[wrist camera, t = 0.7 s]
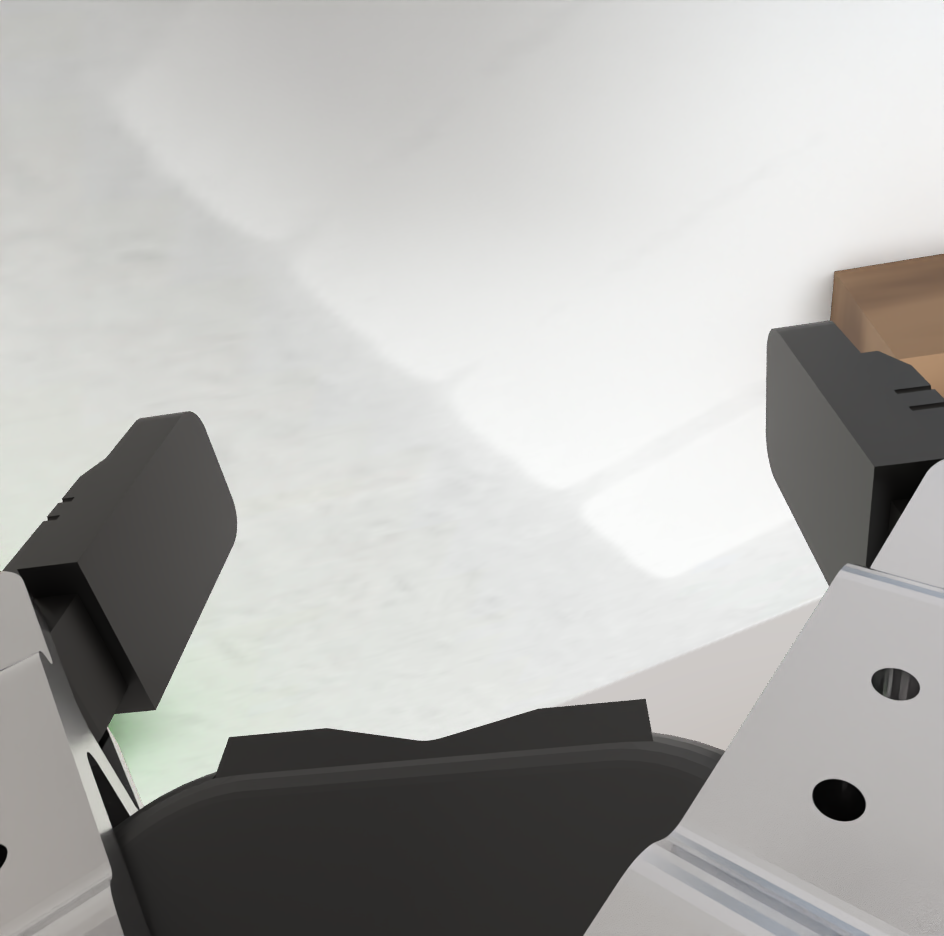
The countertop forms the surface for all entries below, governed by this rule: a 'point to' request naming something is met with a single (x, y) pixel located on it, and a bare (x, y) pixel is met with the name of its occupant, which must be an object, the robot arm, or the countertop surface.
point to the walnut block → (895, 312)
